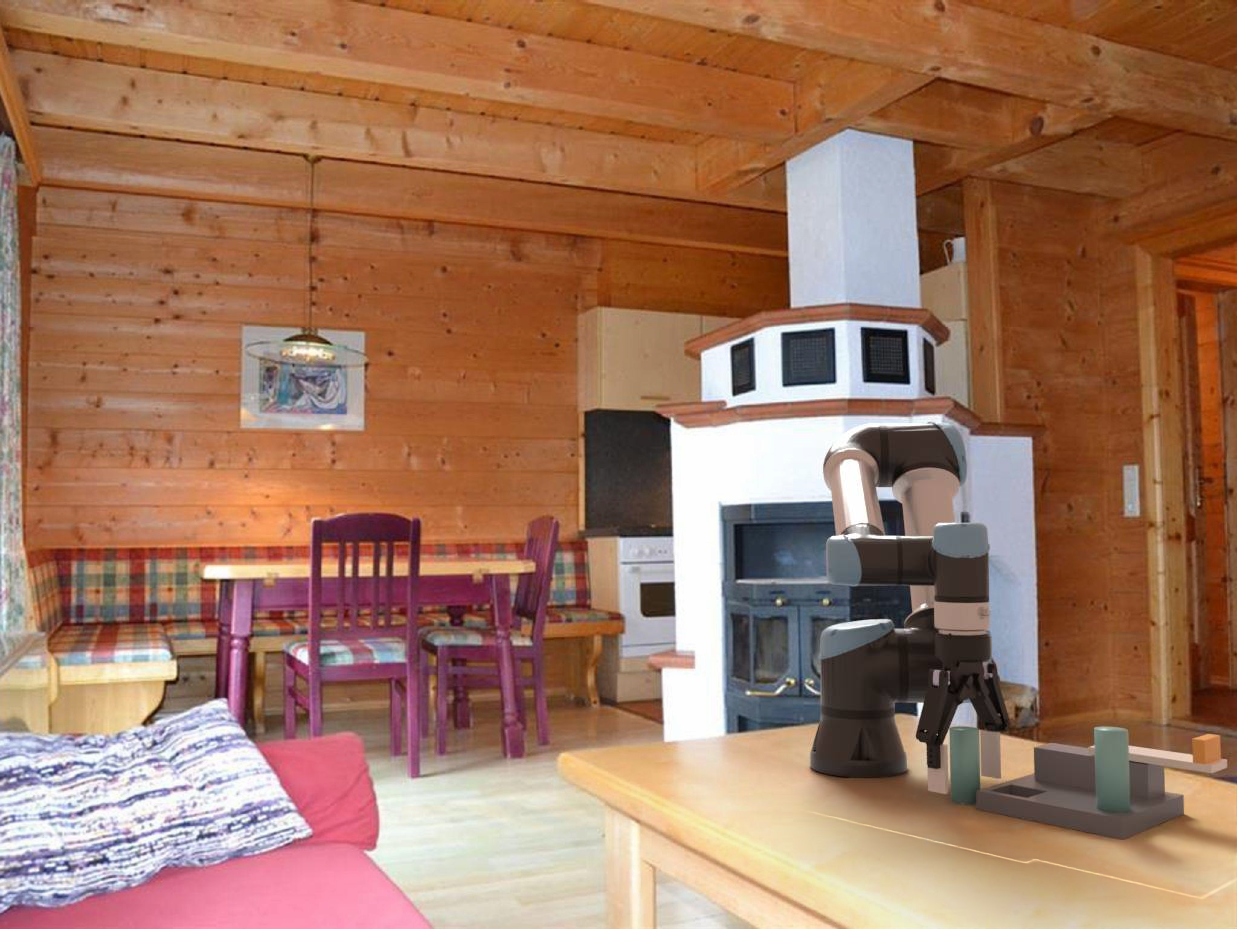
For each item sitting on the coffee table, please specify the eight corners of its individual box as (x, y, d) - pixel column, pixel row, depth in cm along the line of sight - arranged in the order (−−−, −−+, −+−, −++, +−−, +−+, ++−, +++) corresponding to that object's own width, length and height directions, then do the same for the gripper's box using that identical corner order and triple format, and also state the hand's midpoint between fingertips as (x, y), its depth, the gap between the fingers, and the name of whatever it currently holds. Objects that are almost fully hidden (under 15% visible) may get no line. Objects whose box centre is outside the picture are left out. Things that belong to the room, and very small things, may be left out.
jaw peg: (945, 800, 160) (943, 728, 160) (960, 796, 162) (959, 725, 163) (970, 806, 157) (969, 732, 157) (986, 801, 160) (984, 729, 160)
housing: (976, 809, 155) (974, 716, 156) (1042, 788, 167) (1040, 702, 168) (1122, 839, 140) (1120, 736, 141) (1184, 813, 152) (1181, 719, 153)
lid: (1088, 754, 156) (1087, 724, 156) (1105, 749, 159) (1104, 720, 159) (1211, 773, 144) (1210, 741, 144) (1227, 767, 147) (1226, 736, 148)
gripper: (935, 640, 150) (938, 803, 149) (1032, 627, 166) (1035, 775, 165) (887, 636, 155) (890, 793, 154) (985, 624, 172) (988, 767, 171)
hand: (965, 784), depth 160 cm, fingers open, 13 cm apart
